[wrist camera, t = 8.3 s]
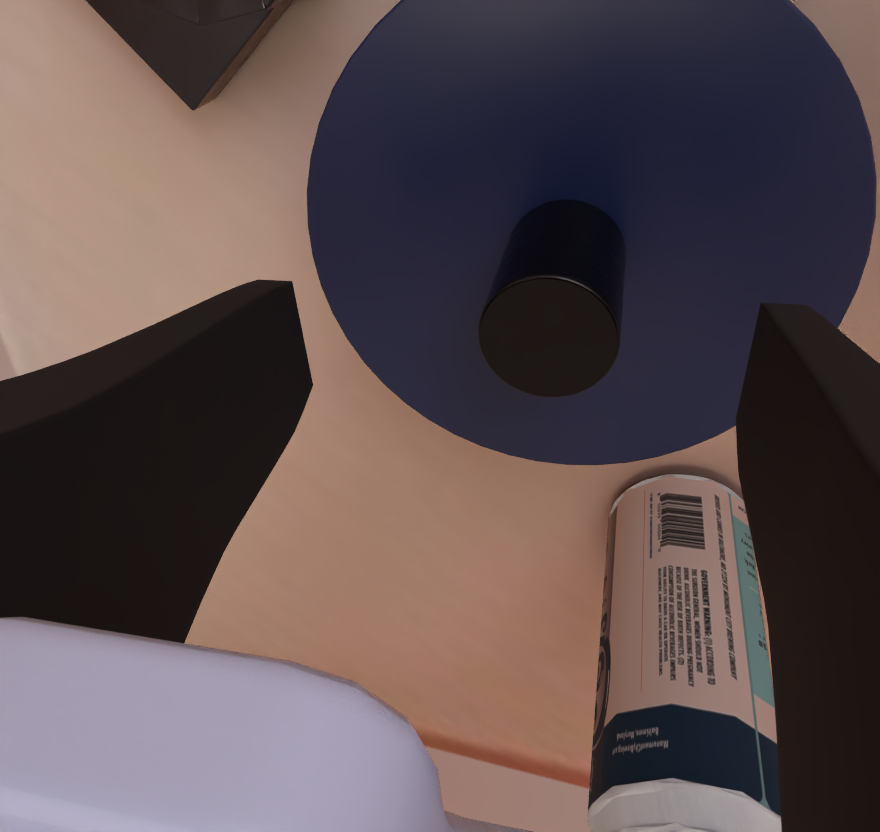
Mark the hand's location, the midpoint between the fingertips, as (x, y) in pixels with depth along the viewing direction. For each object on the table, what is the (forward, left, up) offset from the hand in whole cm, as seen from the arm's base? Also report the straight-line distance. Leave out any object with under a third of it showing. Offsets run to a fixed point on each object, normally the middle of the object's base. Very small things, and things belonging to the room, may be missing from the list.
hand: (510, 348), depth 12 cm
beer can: (+5, +13, -10) cm, 17 cm away
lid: (0, +1, -5) cm, 5 cm away
